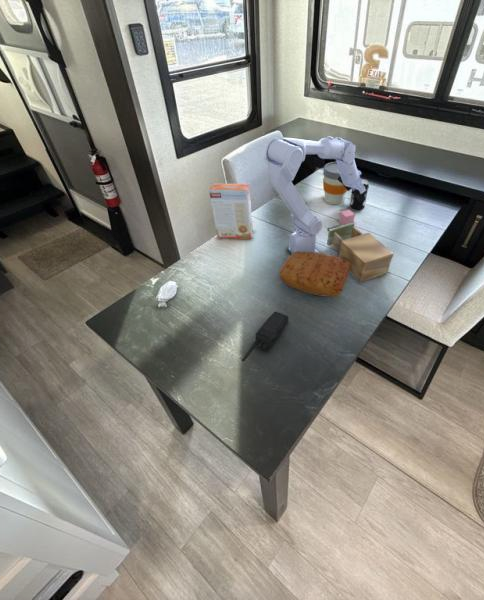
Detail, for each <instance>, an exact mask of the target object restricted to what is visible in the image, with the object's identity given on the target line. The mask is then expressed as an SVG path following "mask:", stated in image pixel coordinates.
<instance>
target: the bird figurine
mask: <svg viewBox="0 0 484 600" xmlns="http://www.w3.org/2000/svg"><path fill="white" fill-rule="evenodd" d="M179 287H180V285H177V282H176V281H174V280H168V281H166V282H165V283H164V284H163V285H162V286H160V288H159V290H158V292H157V295H156V297H155V300H156V302H159V303H158V304H157V306H158V308H160V307H161V308H163V307H164V308H168V305H167V303H166V302H169V300H171V299H173V298H174V297H175V295H176V294H177V290H178V288H179Z"/></svg>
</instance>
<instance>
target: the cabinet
mask: <svg viewBox="0 0 484 600" xmlns="http://www.w3.org/2000/svg"><path fill="white" fill-rule="evenodd" d="M393 257H394V252H393V251H391V250H390V249H389V248H388V247H387V246H385V244H383V243H382V242H381V241H379V240H378V239H377V238H376V237H375V236H374V235H373V234H372V233H370V232H366V233H362V235H359V236H356V237H352V238H349V239H346V240H343V241H341V246H340V253H338V258H342V259H344V260H346V261H348V262H350V263H351V267H350V271H349V274H351V275H352V276H353V277H354V279H356V280H357V281H358V282H359V283H362V282H365V281H368V280H371V279H373V278H377V277H380V276H382V275H384V274H388V272H389V269H390V266H391V263H392V259H393Z"/></svg>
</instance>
